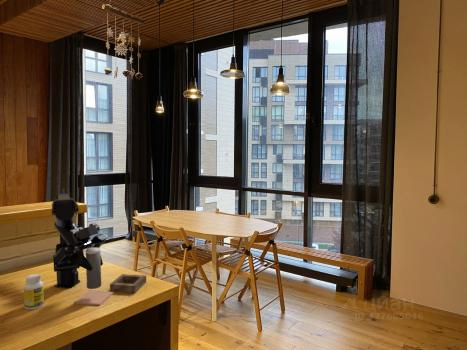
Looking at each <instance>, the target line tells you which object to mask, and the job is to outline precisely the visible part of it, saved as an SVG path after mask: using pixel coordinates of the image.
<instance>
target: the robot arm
mask: <svg viewBox="0 0 467 350" xmlns="http://www.w3.org/2000/svg"><path fill="white" fill-rule="evenodd" d="M79 210H80V209H79V204H78V203H77V201H76V200H75V199H74V198H72V197H71V193H69V192H61V193H59V192H58V193H57V194H56V198H54V200H53V201H52V202H51V215H52V216H54V218H55V219H54V228H55V229H56V231H57V232H58V233H59V243H56V246H55V252H54V253H55V254H53V255H52V259H53V260H52V261H53V272H56V284H55V285H54V286H53V287H54V288H65V289H70V288H73V287H74V286H76V285H77V284H78V283H80V282H81V280H80V279H79V271H78V269H80V267H81V268H83V269H84V270H86V269H87V270H89V271H91V270H92V267H91V265H90V263H89V262H88V260H87V259H86V255H84V253H85V252H84V250H86V249H88V248H95V247H96V248H100V249H101V246H102V245H103V244H104V243H105V242H106V241H107V239H108V237H107V235H106V234H104V233H99V231H100V230H101V227H100V225H99V224H98V223H97V222H96V221H95V222H92V223H89V225H88V226H87V227H84V228H83V227H81V226H80V227H79V226H78V225H77V224H76V222H75V214H78V212H80V211H79ZM92 236H93V237H92ZM103 265H104V262H103V259H102V257H101V267H102V266H103Z"/></svg>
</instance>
